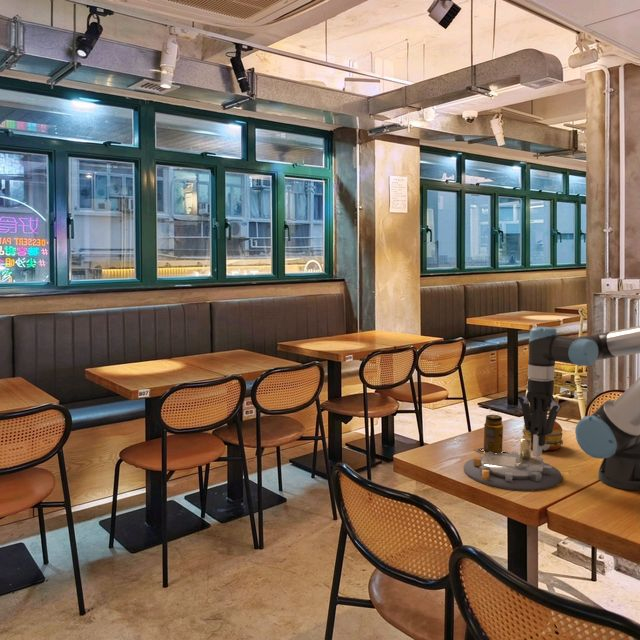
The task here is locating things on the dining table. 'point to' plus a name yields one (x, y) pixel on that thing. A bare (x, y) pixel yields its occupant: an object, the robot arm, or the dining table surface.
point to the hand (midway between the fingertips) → (537, 455)
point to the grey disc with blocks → (514, 464)
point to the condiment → (492, 434)
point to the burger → (549, 437)
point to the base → (527, 484)
